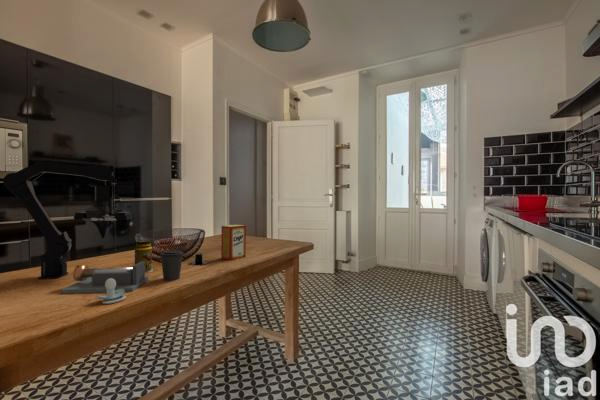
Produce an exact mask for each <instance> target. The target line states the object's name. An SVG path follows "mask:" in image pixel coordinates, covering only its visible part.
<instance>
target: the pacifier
mask: <svg viewBox="0 0 600 400" xmlns="http://www.w3.org/2000/svg"><path fill="white" fill-rule="evenodd" d="M115 287H116V281H115V280H114V279H113V278H110V279H108V280H106V282H105V288H106V289H107V292H106V295H96V296H95V297H96V298H97V299H101V300H103V301H102V302H101V303H102V304H103V305H110V304H115V303H118V302H121V301H123V300H126V299H127V295H124V293H125V290H124V289H123V288H121V289H117V290H115V291H114V288H115Z"/></svg>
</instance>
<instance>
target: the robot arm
mask: <svg viewBox="0 0 600 400" xmlns="http://www.w3.org/2000/svg"><path fill="white" fill-rule="evenodd" d="M45 173H49V174H59V175H70V176H78V177H85V178H89V179H94V180H93V181H91V182H90V183H89V184H88V186H89V187H94V200H93V201H92V205H90V206H89V207H87V208H85V210H84V211H79V212H74V214H73V220H74V221H83V220H89V221H90V223H93V224H94V225H95V226H96V228H97V229H98V232H99V235H100V237H101V239H106V238H107V235H108V234H109V231H110V230H111V228H112V226H113V224H114V223H115V222H117V221H127V220H128V221H129V220H132V219H133V213H132V212H130V211H120V212H119V211H118V212H116V213H115V210H113V208H114V207H113V204H114V203H115V200H113V195H114V196H116V197H117V198H118V199H135V189H134V181H118V179H117V178H115V177H114V172H113V171H112V169H111V167H109V166H107V165H84V166H83V165H76V164H68V163H67V164H66V163H59V162H58V163H57V162H47V161H43V160H37V161H35V162H34V163H32V164H30V165H28V166H26V167H24V168H21V169H20V170H18V171H17V172H9V173H7V174H6V175H5V176H4V177H3V179H2V184H3V185H4V187H6V188H7V189H8V191H9V192H10V193H11V194H12V195H14V196H15V197H16V198H17V199H19V200H20V202H21V203H22V204H23V206H24V207H25V209H26V211H27V212H28V213H29V215H30V216H31V218H32V220H33V221H34V222H35V224H36V225H37V228H39V230H40V231H41V233H42V235H43V236H44V241H45V245H46V247H47V250H46V252H44V253H43V254H41V255H40V276H37V279H58V278H61V277H64V276H65V275H68V274H69V272H68V262H66V259H67V258H65V255H66V254H67V253H68V252H69V251H70V250H71V248H72V241H73V239H71V238H70V237H69V234H68V232H67V231H64V232H61V230H59V229H58V228H57V226H56V225H55V223H54V222H53V221H52V219H51V218H50V216H49V214H48V213H47V211H46V209H44V206H43V205H42V203H41V202H40V201H39V199H38V197H37V195H36V193H35V192H36V191H35V189H34V185H33V183H32V182H34V181H35V180H37V179H38V178H40V177H41V176H42V175H43V174H45ZM96 180H98V181H99V182H98V181H96ZM100 181H101V182H100ZM107 182H109V183H110V184H112V185H109V184H107ZM113 188H114V190H113ZM113 191H114V193H113Z"/></svg>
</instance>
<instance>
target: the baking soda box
mask: <svg viewBox="0 0 600 400" xmlns="http://www.w3.org/2000/svg"><path fill="white" fill-rule="evenodd" d="M246 227H247V225H245V224H244V225H243V224H226V225H221V240H220V241H221V246H220V247H221V252H220V253H221V255H220V256H221V258H220V259H222V260H226V261H235V260H238V258H239V259H242V257H244V258H246V250H247V249H246V243H247V242H246V240H247V239H246V236H247V235H246V234H247V233H246V232H247V231H246V230H247V228H246ZM234 259H235V260H234Z"/></svg>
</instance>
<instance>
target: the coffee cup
mask: <svg viewBox="0 0 600 400" xmlns="http://www.w3.org/2000/svg"><path fill="white" fill-rule="evenodd" d="M184 254H185V253H184V252H183V251H182V250H181V251H180V250H176V249H171V250H166V251H164V252H163V251H162V252H160V254H159V257H160V258H161V259H160V260H161V268H162V269H161V270H162V279H163V281H167V282H171V281H177V280H179V279H180V278H181V272H182V271H181V270H182V263H183V261H182V260H183V255H184Z"/></svg>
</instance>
